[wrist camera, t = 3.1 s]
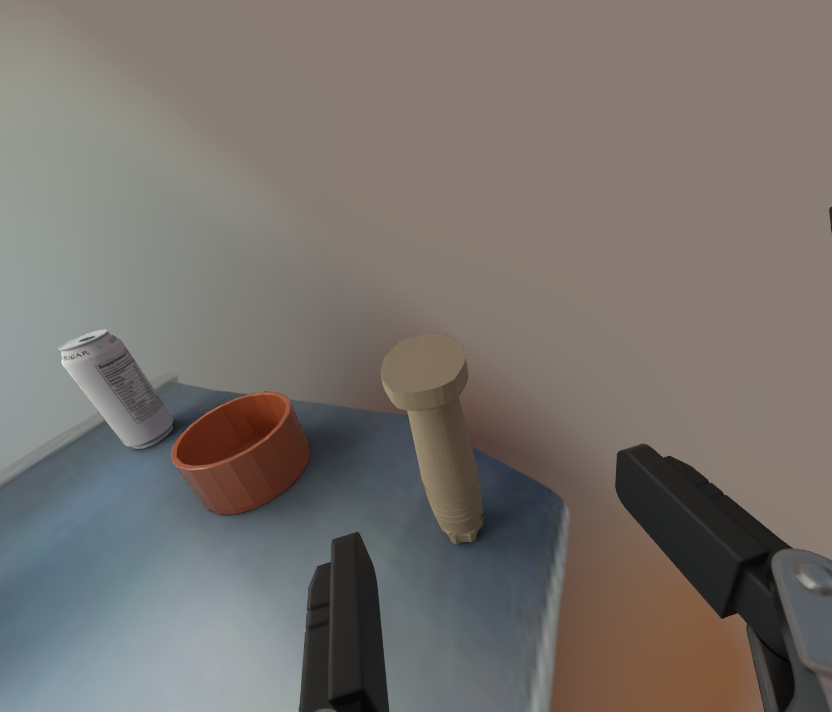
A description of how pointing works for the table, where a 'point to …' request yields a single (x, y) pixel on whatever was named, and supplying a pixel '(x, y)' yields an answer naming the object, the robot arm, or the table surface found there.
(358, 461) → the table surface
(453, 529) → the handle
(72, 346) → the energy drink can
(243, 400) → the holder
